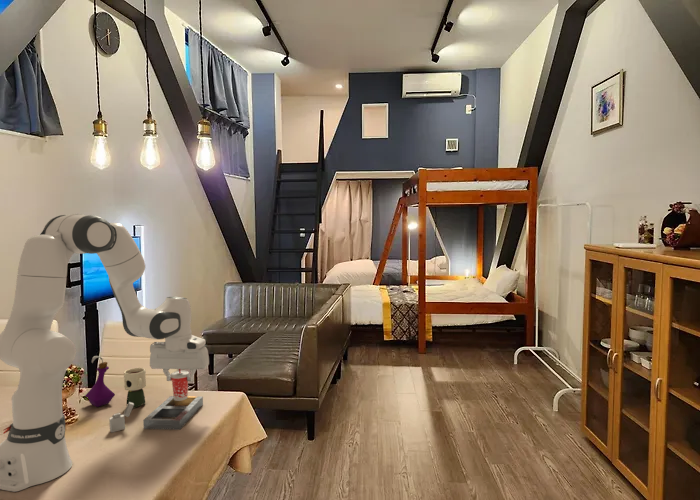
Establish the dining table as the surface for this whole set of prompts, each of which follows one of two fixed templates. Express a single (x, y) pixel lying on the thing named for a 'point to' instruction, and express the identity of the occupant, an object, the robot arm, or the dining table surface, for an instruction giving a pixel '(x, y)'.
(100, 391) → the perfume bottle
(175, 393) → the beverage cup
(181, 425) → the gray divided tray
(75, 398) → the dining table surface
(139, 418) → the dining table surface
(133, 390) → the character mug
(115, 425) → the lighter
